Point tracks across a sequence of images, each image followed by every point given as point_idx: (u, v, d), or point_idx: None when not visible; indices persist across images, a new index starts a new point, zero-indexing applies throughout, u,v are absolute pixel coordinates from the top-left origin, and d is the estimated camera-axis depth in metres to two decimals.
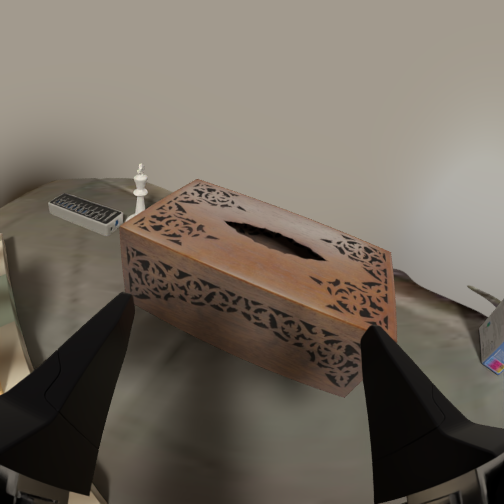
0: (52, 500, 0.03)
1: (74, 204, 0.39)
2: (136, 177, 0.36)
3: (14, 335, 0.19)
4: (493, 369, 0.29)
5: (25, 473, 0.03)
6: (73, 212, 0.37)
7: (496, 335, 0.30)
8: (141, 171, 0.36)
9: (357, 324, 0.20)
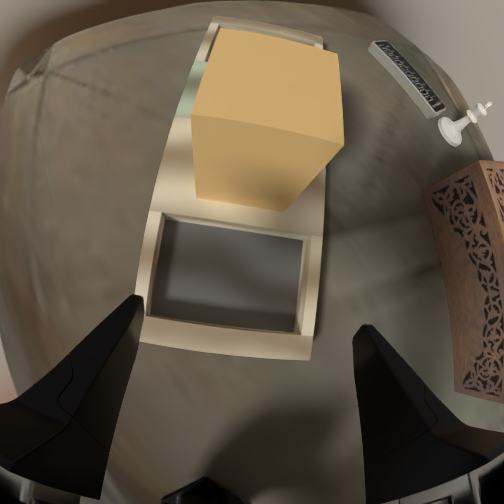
0: None
1: (402, 63, 0.31)
2: (480, 106, 0.24)
3: None
4: None
5: (40, 481, 0.03)
6: (403, 73, 0.30)
7: None
8: (487, 107, 0.23)
9: None
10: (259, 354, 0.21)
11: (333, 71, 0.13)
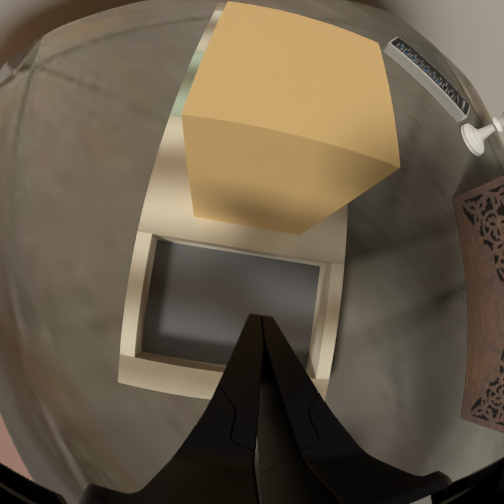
0: None
1: (423, 64, 0.26)
2: None
3: None
4: None
5: None
6: (429, 77, 0.26)
7: None
8: None
9: None
10: None
11: (377, 64, 0.09)
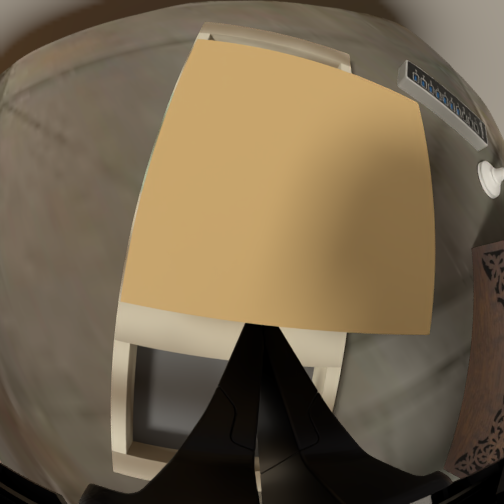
0: None
1: (440, 93, 0.24)
2: None
3: None
4: None
5: None
6: (451, 111, 0.24)
7: None
8: None
9: None
10: None
11: (418, 147, 0.07)
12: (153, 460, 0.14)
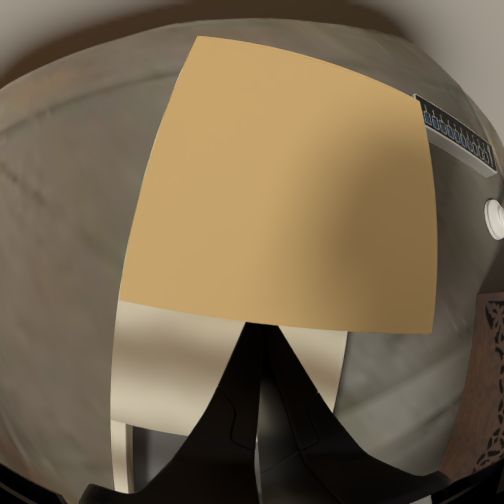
0: None
1: (451, 128, 0.23)
2: None
3: (340, 340, 0.17)
4: None
5: None
6: (463, 148, 0.23)
7: None
8: None
9: None
10: None
11: (420, 144, 0.07)
12: None
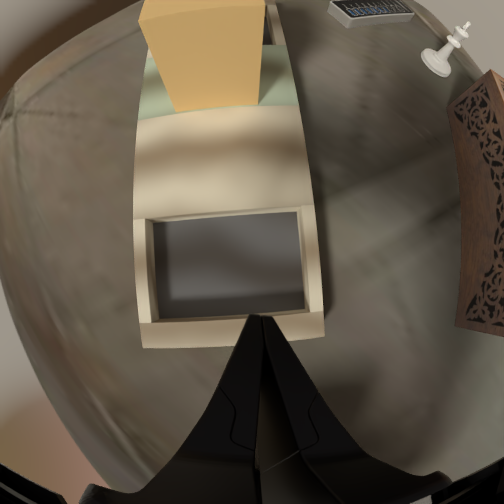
0: None
1: (368, 7, 0.24)
2: (458, 29, 0.18)
3: (296, 122, 0.22)
4: None
5: None
6: (385, 14, 0.24)
7: None
8: (466, 28, 0.17)
9: None
10: None
11: None
12: (174, 322, 0.20)
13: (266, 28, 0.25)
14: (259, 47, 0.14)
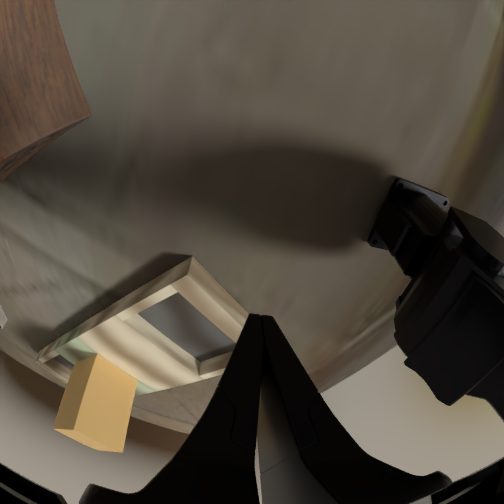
0: None
1: None
2: None
3: (86, 335, 0.28)
4: None
5: None
6: None
7: None
8: None
9: None
10: (216, 306, 0.24)
11: (60, 430, 0.23)
12: None
13: None
14: (82, 402, 0.24)
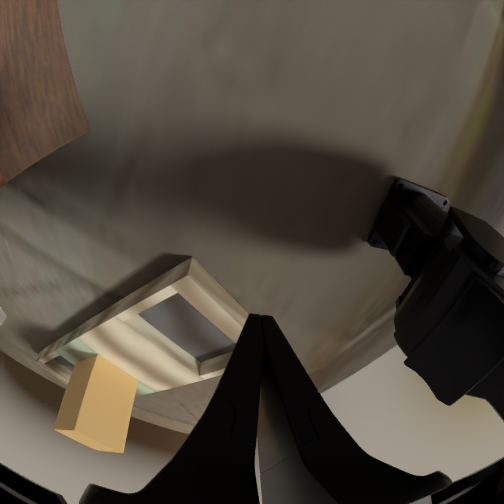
0: None
1: None
2: None
3: (86, 336, 0.28)
4: None
5: None
6: None
7: None
8: None
9: None
10: (216, 306, 0.24)
11: (61, 430, 0.23)
12: None
13: None
14: (83, 403, 0.24)
